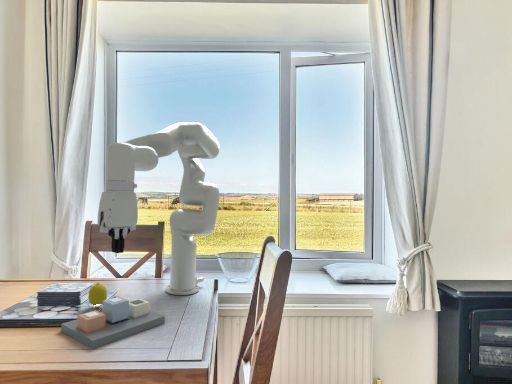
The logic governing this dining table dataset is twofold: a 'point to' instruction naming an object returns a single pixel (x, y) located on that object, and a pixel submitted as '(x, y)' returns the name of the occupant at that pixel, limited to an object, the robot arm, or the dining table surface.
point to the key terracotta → (91, 321)
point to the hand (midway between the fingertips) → (117, 252)
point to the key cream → (138, 308)
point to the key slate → (115, 309)
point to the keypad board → (113, 329)
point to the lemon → (97, 294)
